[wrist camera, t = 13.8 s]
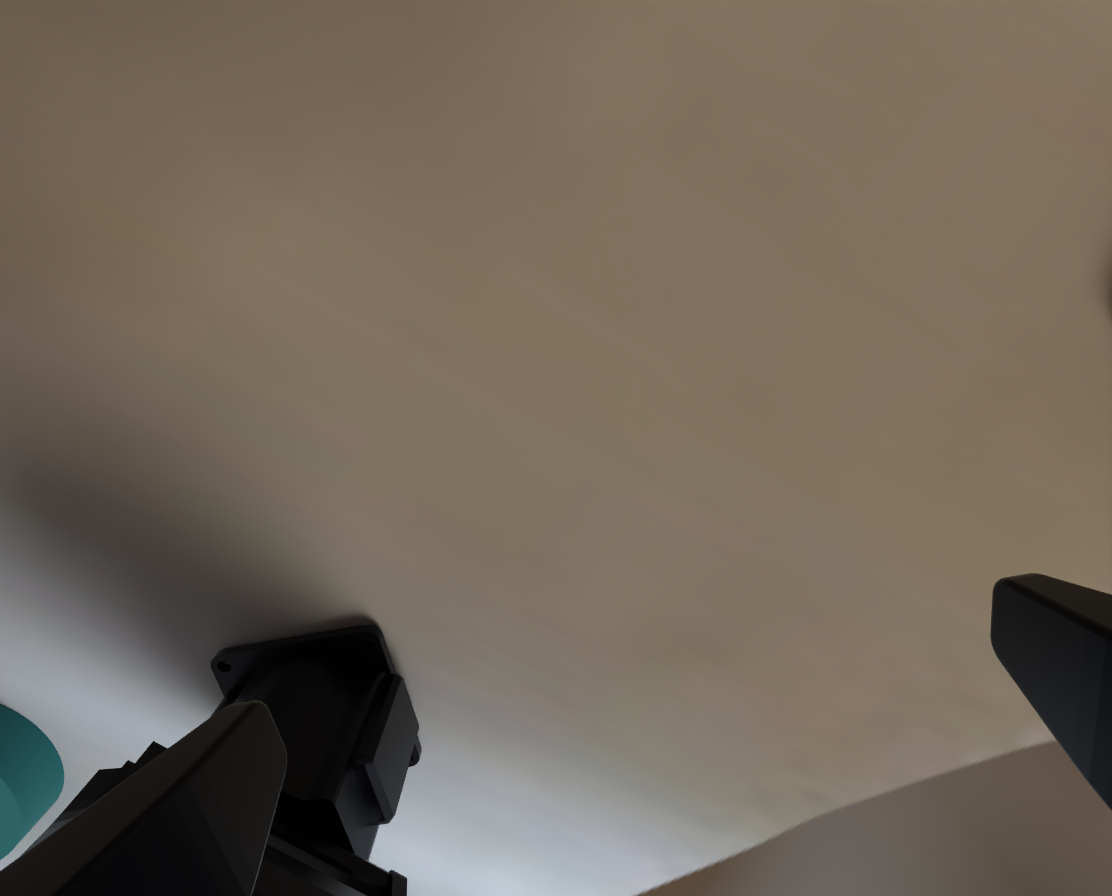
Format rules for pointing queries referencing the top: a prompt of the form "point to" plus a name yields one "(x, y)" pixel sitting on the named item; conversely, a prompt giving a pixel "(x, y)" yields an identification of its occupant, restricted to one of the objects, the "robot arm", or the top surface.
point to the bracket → (25, 777)
